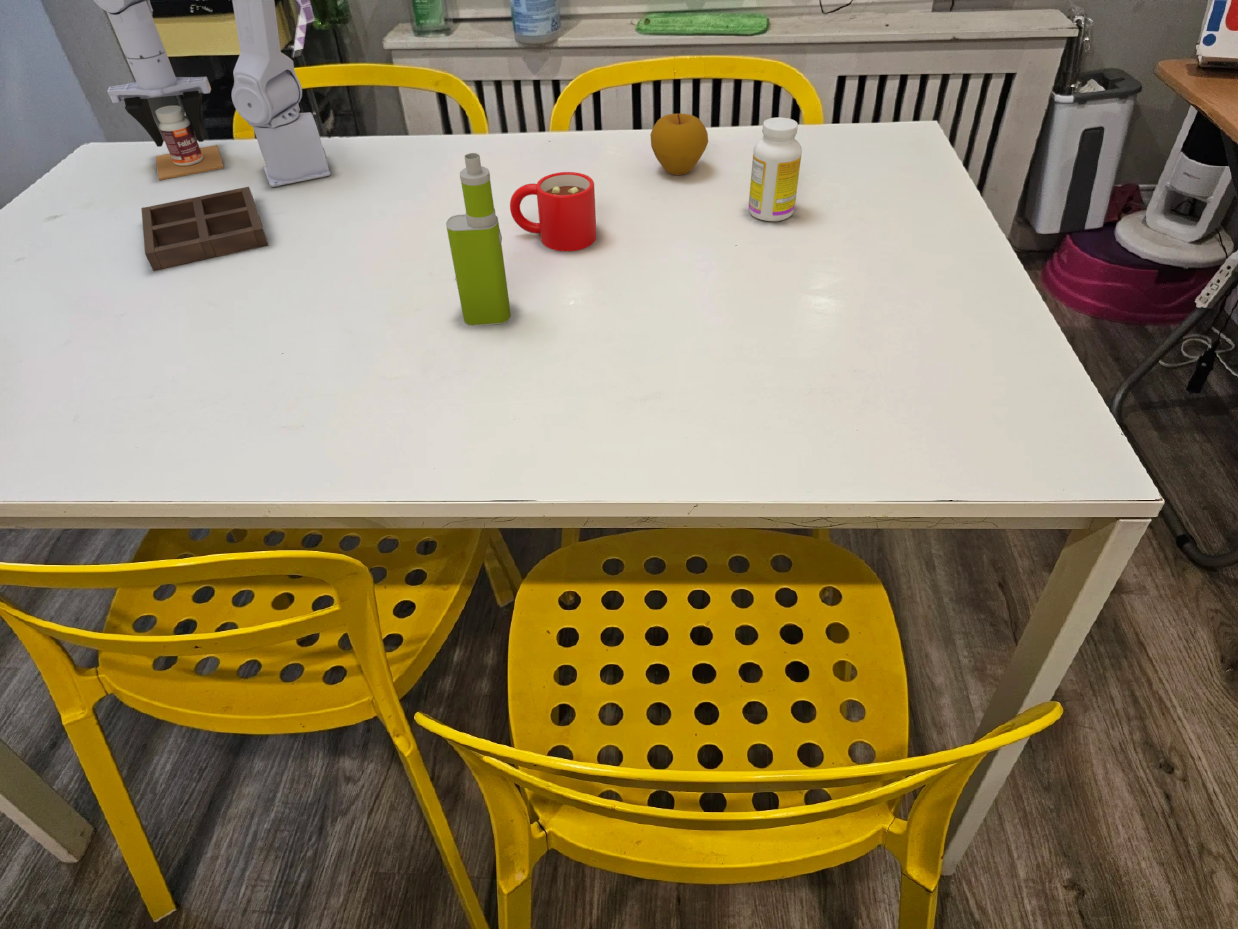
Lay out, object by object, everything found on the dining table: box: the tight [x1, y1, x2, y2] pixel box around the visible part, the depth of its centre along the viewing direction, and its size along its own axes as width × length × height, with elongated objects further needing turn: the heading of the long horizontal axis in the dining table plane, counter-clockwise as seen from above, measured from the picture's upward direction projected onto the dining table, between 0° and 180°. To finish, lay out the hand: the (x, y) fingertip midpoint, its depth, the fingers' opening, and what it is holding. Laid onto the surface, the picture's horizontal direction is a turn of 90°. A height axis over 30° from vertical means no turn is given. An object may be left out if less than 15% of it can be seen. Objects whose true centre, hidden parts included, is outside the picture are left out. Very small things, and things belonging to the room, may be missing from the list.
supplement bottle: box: [748, 116, 803, 222], centre depth 112 cm, size 7×7×13 cm
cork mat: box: [155, 144, 225, 181], centre depth 134 cm, size 10×10×1 cm
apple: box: [649, 113, 709, 176], centre depth 124 cm, size 9×9×9 cm
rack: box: [140, 186, 269, 271], centre depth 114 cm, size 15×15×3 cm
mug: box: [509, 171, 598, 252], centre depth 110 cm, size 8×12×8 cm, turn 84°
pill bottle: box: [155, 105, 203, 166], centre depth 131 cm, size 5×5×8 cm
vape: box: [445, 152, 512, 327], centre depth 91 cm, size 4×6×20 cm, turn 95°
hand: (181, 141), depth 131 cm, fingers open, 6 cm apart
